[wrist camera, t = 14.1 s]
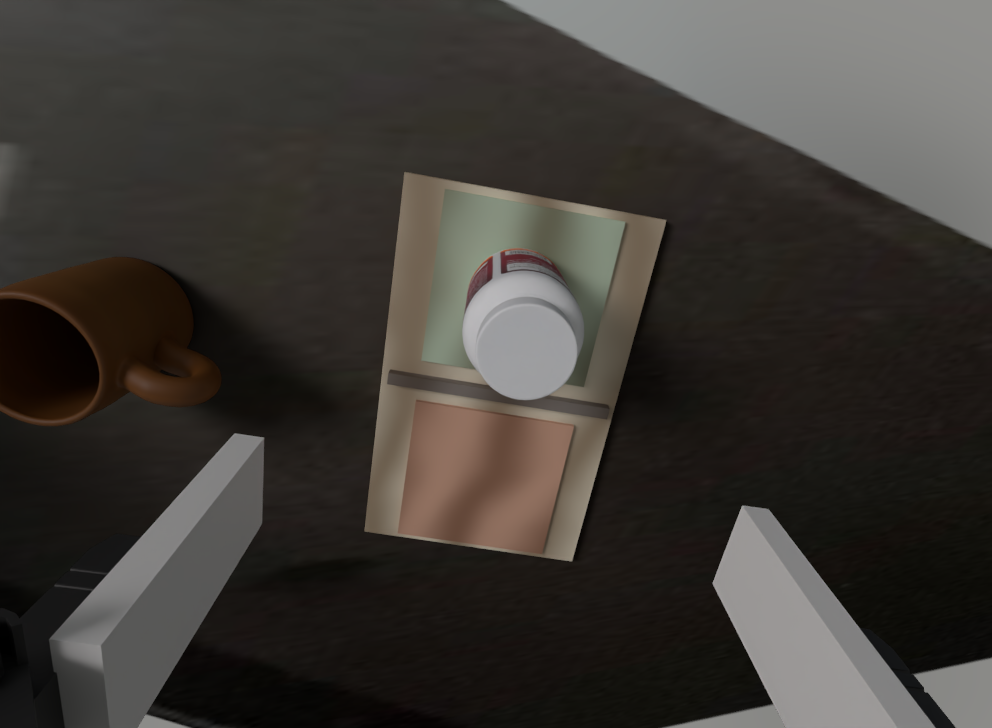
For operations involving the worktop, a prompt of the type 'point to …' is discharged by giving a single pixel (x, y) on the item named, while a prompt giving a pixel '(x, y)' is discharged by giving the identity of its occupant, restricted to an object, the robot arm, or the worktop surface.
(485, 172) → the worktop surface
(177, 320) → the mug
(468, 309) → the pill bottle
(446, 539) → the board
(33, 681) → the robot arm
